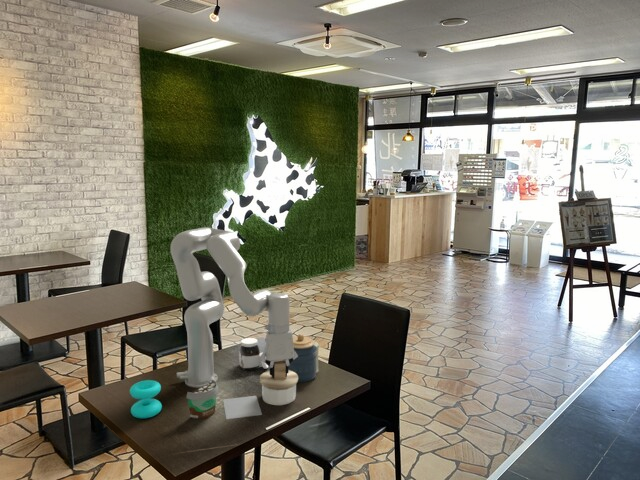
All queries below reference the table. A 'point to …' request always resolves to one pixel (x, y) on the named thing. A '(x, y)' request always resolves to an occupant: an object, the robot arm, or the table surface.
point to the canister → (304, 358)
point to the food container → (203, 401)
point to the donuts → (145, 399)
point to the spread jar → (250, 355)
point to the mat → (241, 407)
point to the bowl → (279, 395)
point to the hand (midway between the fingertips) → (279, 375)
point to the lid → (279, 377)
